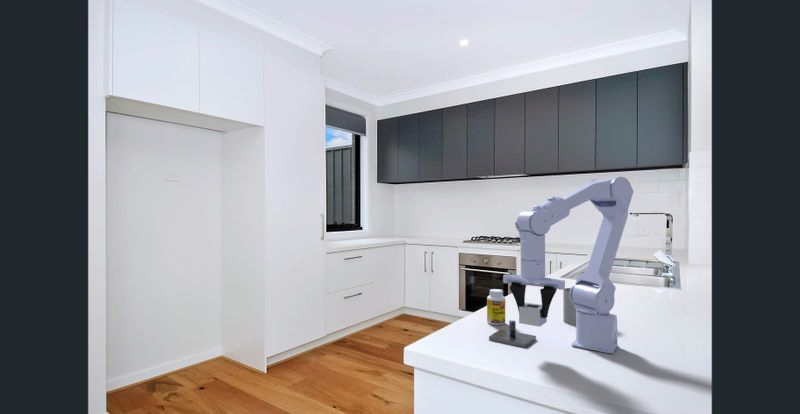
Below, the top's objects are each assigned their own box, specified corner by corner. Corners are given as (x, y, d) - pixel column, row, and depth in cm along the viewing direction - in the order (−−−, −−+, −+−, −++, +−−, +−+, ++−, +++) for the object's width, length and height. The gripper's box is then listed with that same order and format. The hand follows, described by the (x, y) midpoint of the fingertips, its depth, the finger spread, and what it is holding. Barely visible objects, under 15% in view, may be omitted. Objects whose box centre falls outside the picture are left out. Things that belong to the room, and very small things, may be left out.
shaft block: (536, 339, 107) (535, 321, 107) (525, 347, 101) (525, 328, 101) (501, 332, 113) (500, 315, 113) (488, 340, 107) (488, 321, 107)
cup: (597, 326, 119) (597, 293, 119) (570, 326, 119) (570, 293, 119) (585, 318, 127) (585, 287, 127) (559, 318, 127) (559, 287, 127)
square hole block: (546, 321, 97) (546, 305, 97) (539, 326, 93) (539, 309, 93) (526, 318, 100) (526, 302, 100) (519, 323, 96) (519, 306, 96)
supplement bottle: (490, 326, 119) (490, 292, 120) (484, 321, 125) (484, 288, 125) (508, 325, 120) (508, 291, 120) (501, 320, 126) (501, 288, 126)
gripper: (498, 259, 98) (498, 314, 98) (558, 264, 89) (559, 324, 89) (509, 256, 104) (509, 308, 103) (567, 260, 95) (567, 317, 95)
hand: (533, 315), depth 97 cm, fingers closed on square hole block, 5 cm apart
